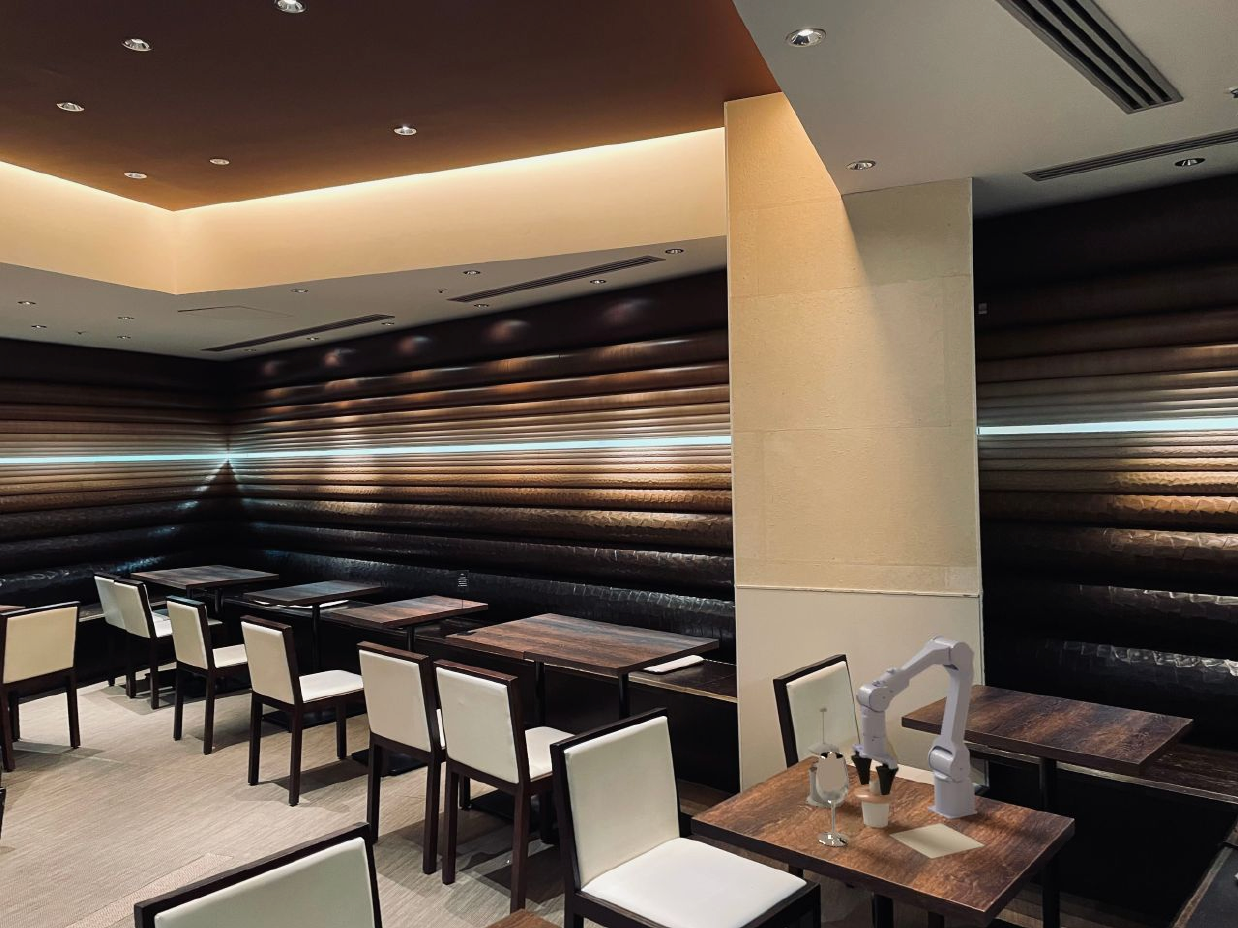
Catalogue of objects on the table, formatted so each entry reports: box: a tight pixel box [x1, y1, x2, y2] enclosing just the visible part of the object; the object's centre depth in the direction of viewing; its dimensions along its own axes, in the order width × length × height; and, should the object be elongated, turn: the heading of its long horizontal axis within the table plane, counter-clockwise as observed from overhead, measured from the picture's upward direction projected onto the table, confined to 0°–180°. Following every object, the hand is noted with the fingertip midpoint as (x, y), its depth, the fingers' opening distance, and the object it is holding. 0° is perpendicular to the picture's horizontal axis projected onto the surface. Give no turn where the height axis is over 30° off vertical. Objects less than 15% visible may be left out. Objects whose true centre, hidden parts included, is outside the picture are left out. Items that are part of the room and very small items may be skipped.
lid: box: [853, 779, 897, 804], centre depth 209 cm, size 10×10×4 cm
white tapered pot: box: [861, 801, 890, 828], centre depth 208 cm, size 7×7×7 cm
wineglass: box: [815, 752, 851, 847], centre depth 200 cm, size 8×8×20 cm
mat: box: [888, 823, 986, 860], centre depth 198 cm, size 16×14×1 cm
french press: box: [806, 706, 847, 809], centre depth 225 cm, size 10×12×25 cm
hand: (875, 789), depth 209 cm, fingers open, 7 cm apart
